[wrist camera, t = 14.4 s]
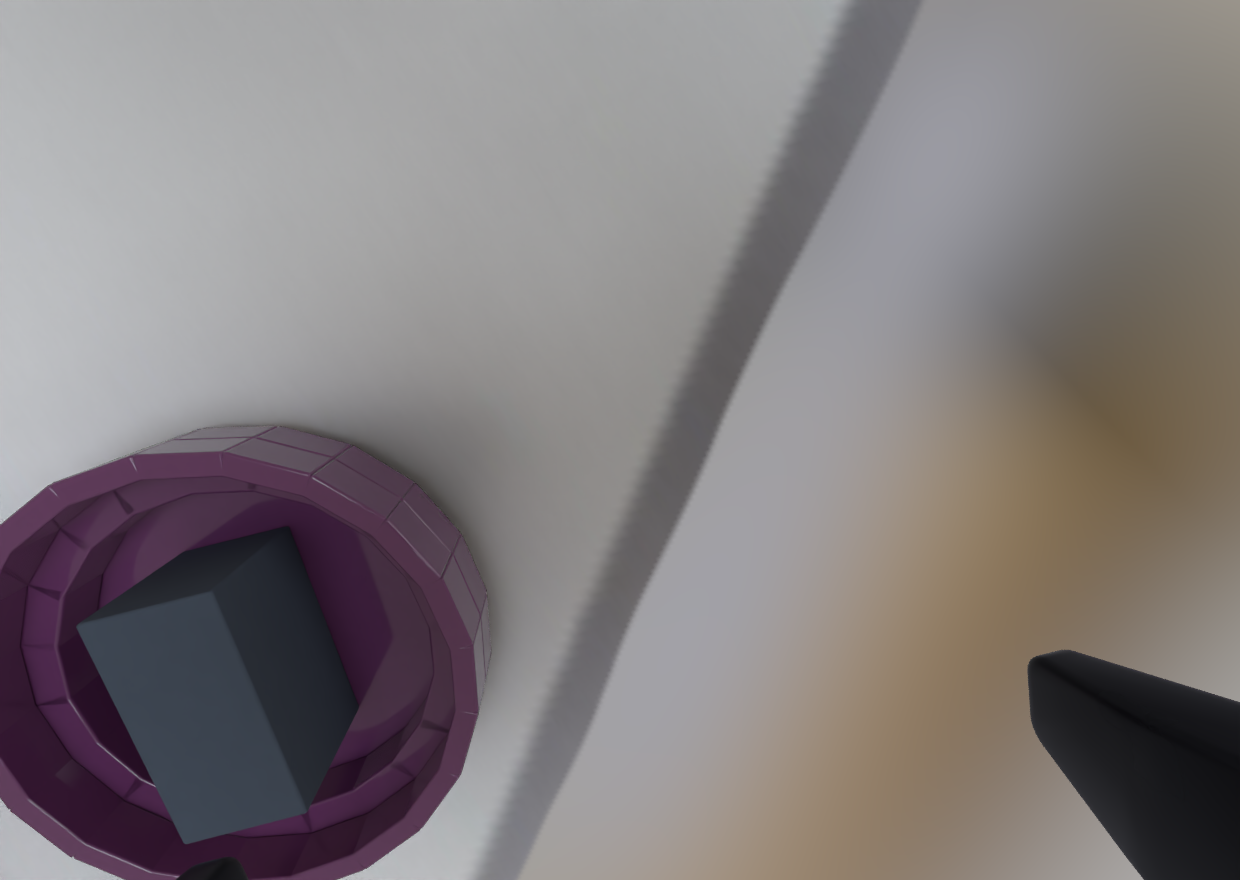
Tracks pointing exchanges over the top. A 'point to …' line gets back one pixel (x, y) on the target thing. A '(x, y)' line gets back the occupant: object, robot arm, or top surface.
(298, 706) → the eraser
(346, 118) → the top surface
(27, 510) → the bowl
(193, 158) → the top surface
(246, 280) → the top surface
